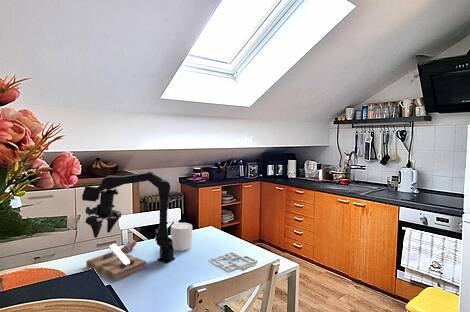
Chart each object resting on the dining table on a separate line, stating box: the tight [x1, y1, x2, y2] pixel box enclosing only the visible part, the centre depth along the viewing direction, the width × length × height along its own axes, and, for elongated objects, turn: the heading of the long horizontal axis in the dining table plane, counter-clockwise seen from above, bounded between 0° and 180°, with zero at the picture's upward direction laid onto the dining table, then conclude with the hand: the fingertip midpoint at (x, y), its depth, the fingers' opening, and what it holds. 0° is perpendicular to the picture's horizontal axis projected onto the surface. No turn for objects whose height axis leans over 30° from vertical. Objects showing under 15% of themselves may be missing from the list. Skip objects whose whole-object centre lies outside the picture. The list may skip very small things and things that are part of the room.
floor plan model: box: [208, 251, 258, 273], centre depth 151 cm, size 19×25×2 cm
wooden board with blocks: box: [85, 251, 147, 282], centre depth 139 cm, size 22×16×3 cm
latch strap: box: [108, 243, 131, 267], centre depth 138 cm, size 14×3×1 cm, turn 58°
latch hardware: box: [102, 251, 134, 268], centre depth 139 cm, size 16×6×2 cm, turn 57°
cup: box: [170, 222, 193, 252], centre depth 167 cm, size 12×12×12 cm
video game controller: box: [119, 239, 138, 254], centre depth 158 cm, size 10×5×7 cm, turn 169°
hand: (102, 235), depth 142 cm, fingers open, 9 cm apart
